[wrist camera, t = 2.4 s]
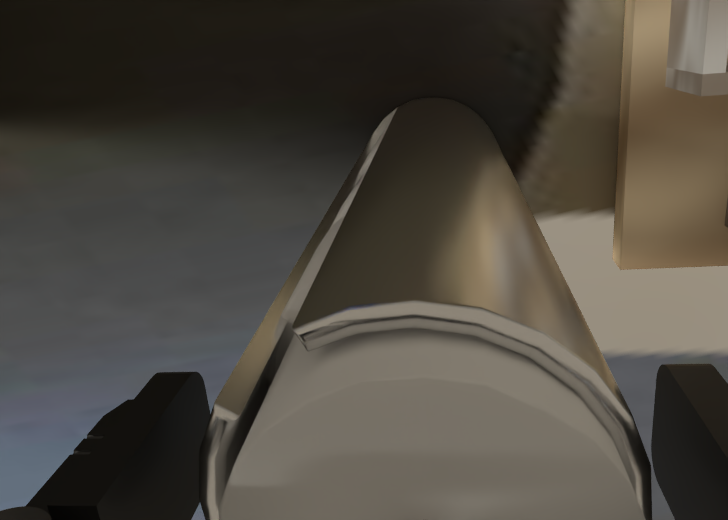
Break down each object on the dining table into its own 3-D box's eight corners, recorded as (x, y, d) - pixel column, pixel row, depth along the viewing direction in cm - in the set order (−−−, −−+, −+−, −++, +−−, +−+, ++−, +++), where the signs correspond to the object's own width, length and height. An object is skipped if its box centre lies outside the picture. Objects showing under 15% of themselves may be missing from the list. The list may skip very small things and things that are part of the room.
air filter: (481, 79, 30) (637, 280, 6) (511, 209, 32) (715, 720, 8) (349, 118, 31) (85, 403, 8) (386, 240, 33) (265, 761, 10)
